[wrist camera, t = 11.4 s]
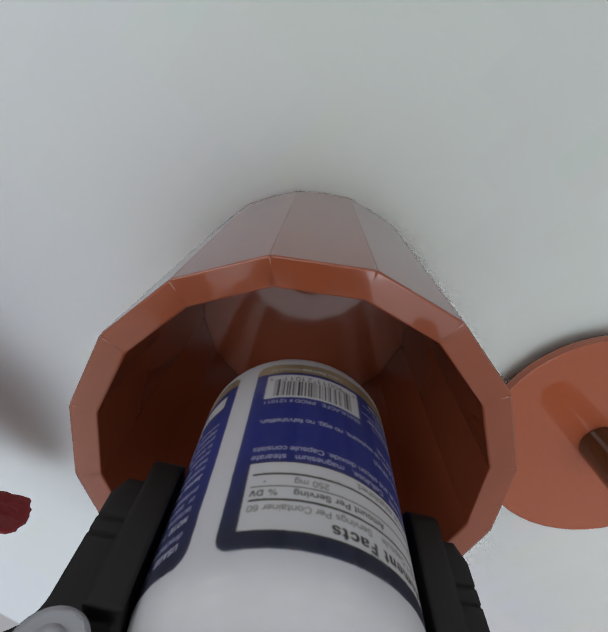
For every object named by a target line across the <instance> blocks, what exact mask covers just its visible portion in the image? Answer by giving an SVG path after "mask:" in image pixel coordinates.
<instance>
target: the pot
mask: <svg viewBox="0 0 608 632" xmlns="http://www.w3.org/2000/svg"><path fill="white" fill-rule="evenodd" d="M286 359H299V360H309V361H315V362H319V363H323V364H326V365H329V366H331V367H333V368H336V369H337V370H339V371H341V372H343V373H345V374H346V375H348V376H349V377H351V378H352V379H353V380H355V381H356V382H357V383H358V384H359V385H360V386H361V387H362V388H363V389H364V390H365V391H366V392H367V393H368V395H369V396H370V397H371V399H372V400H373V402H374V404H375V405H376V408H377V410H378V412H379V415H380V418H381V421H382V425H383V429H384V433H385V438H386V443H387V448H388V452H389V457H390V462H391V467H392V472H393V477H394V481H395V486H396V491H397V496H398V501H399V506H400V510H401V515H403V513H404V512H406V511H407V512H411V513H416V514H421V515H426V516H431V517H434V518H435V519H436V520H437V522H438V525H439V529H440V532H441V535H442V539H443V541H444V542H450V543H454V545H455V546H456V548H457V549H458V551H459V552H460V554H461V555H462V556H463V555H464V554H465V553H466V552H467V551H469V550H470V549H471V548H472V547H473V546H474V545H475V544H476V543H477V542H478V541H480V540H481V539H482V538H483V537H484V536H485V535H486V534H487V533H488V532H489V531H490V530H491V529H492V526H493V524H494V522H495V519H496V517H497V515H498V513H499V510H500V508H501V506H502V503H503V501H504V499H505V497H506V494H507V492H508V490H509V488H510V485H511V483H512V481H513V478H514V476H515V474H516V472H517V452H516V441H515V429H514V417H513V405H512V395H511V391H510V390H509V388H508V387H507V385H506V384H505V382H504V381H503V379H502V378H501V376H500V375H499V373H498V372H497V370H496V369H495V367H494V366H493V364H492V363H491V361H490V360H489V358H488V357H487V355H486V354H485V352H484V351H483V349H482V348H481V346H480V345H479V343H478V342H477V340H476V339H475V337H474V336H473V334H472V333H471V331H470V330H469V328H468V327H467V325H466V324H465V322H464V321H463V320H462V318H461V317H460V316H459V314H458V313H457V312H456V310H455V309H454V307H453V306H452V305H451V303H450V302H449V301H448V299H447V298H446V297H445V295H444V294H443V293H442V291H441V290H440V289H439V287H438V286H437V284H436V283H435V282H434V280H433V279H432V278H431V276H430V275H429V274H428V272H427V271H426V270H425V268H424V267H423V266H422V264H421V263H420V261H419V260H418V259H417V257H416V256H415V255H414V253H413V252H412V251H411V249H410V248H409V247H408V245H407V244H406V243H405V241H404V240H403V238H402V237H401V236H400V234H399V233H398V232H397V230H396V229H395V228H394V226H393V225H392V224H390V223H389V222H387V221H385V220H384V219H382V218H381V217H379V216H378V215H376V214H375V213H374V212H372V211H371V210H369V209H367V208H365V207H364V206H362V205H360V204H358V203H356V202H355V201H353V200H352V199H349V198H345V197H339V196H335V195H330V194H326V193H317V192H305V191H295V192H291V193H286V194H281V195H276V196H272V197H269V198H266V199H263V200H261V201H257V202H253V203H250V204H248V205H247V206H245V207H244V208H243V209H242V210H240V211H239V212H238V213H237V214H235V215H234V216H233V217H231V218H230V219H229V220H228V221H227V222H225V223H224V224H223V225H222V226H220V227H219V228H218V229H217V230H215V231H214V232H213V233H212V234H211V235H209V236H208V237H207V238H206V239H205V240H204V241H203V242H202V243H201V244H199V245H198V246H197V247H196V248H195V249H194V250H193V251H192V252H191V253H189V254H188V255H187V256H186V257H185V258H184V259H183V260H182V261H181V262H180V263H178V264H177V265H176V266H175V267H174V268H173V269H172V270H171V271H170V272H168V273H167V274H166V275H165V276H164V277H163V278H162V279H161V280H160V281H158V282H157V283H156V284H155V285H154V286H153V287H152V288H151V289H150V290H148V291H147V292H146V293H145V294H144V295H143V296H142V297H141V298H140V299H138V300H137V301H136V302H135V303H134V304H133V305H132V306H131V307H130V308H128V309H127V310H126V311H125V312H124V313H123V314H122V315H121V316H120V317H118V318H117V319H116V320H115V321H114V322H113V323H112V324H111V325H110V326H108V327H107V328H106V329H105V330H104V331H103V332H102V334H101V335H100V336H99V337H98V340H97V342H96V344H95V347H94V349H93V351H92V354H91V356H90V358H89V360H88V363H87V365H86V367H85V370H84V372H83V374H82V377H81V379H80V381H79V383H78V386H77V388H76V390H75V393H74V395H73V397H72V400H71V402H70V405H69V410H70V420H71V430H72V441H73V451H74V461H75V471H76V474H77V477H78V479H79V480H80V482H81V484H82V485H83V487H84V489H85V490H86V492H87V494H88V495H89V497H90V499H91V500H92V502H93V504H94V505H95V507H96V509H97V510H98V512H100V510H101V508H102V507H103V505H104V503H105V501H106V500H107V498H108V496H109V495H110V493H111V492H112V491H113V490H115V489H116V488H117V487H118V486H120V485H121V484H122V483H123V482H125V481H126V480H127V479H128V478H131V479H136V480H141V481H145V480H146V478H147V476H148V474H149V472H150V470H151V468H152V466H153V465H154V463H155V462H156V461H161V462H166V463H171V464H176V465H181V466H185V476H186V473H187V471H188V468H189V465H190V463H191V460H192V457H193V454H194V452H195V449H196V447H197V444H198V442H199V439H200V436H201V434H202V431H203V429H204V426H205V424H206V421H207V419H208V416H209V414H210V411H211V409H212V407H213V405H214V403H215V401H216V400H217V398H218V397H219V395H220V394H221V392H222V391H223V390H224V389H225V387H226V386H227V385H228V384H229V383H230V382H232V381H233V380H234V379H235V378H236V377H238V376H239V375H241V374H242V373H244V372H246V371H247V370H249V369H251V368H254V367H256V366H259V365H261V364H264V363H268V362H272V361H278V360H286ZM185 476H184V478H185Z"/></svg>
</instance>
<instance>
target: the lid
mask: <svg viewBox="0 0 608 632" xmlns="http://www.w3.org/2000/svg"><path fill="white" fill-rule="evenodd" d="M506 385H507V387H508V388H509V390H510V391H511V395H512V405H513V417H514V429H515V441H516V452H517V472H516V474H515V476H514V478H513V481H512V483H511V485H510V488H509V490H508V492H507V494H506V497H505V499H504V501H503V503H502V505H503V506H505V507H506V508H507V509H508V510H509V511H511V512H513V513H514V514H516V515H518V516H519V517H521V518H524V519H526V520H528V521H531V522H534V523H537V524H540V525H543V526H548V527H554V528H561V529H594V528H602V527H608V335H605V336H598V337H593V338H589V339H585V340H581V341H577V342H575V343H572V344H569V345H566V346H564V347H561V348H559V349H557V350H555V351H552V352H550V353H548V354H546V355H544V356H543V357H541V358H539V359H538V360H536V361H534V362H533V363H531V364H530V365H528V366H527V367H526V368H524V369H523V370H522V371H520V372H519V373H518V374H516V375H515V376H514V377H513V378H512V379H511V380H510V381H509V382H508V383H507V384H506Z"/></svg>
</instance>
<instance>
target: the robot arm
mask: <svg viewBox="0 0 608 632" xmlns="http://www.w3.org/2000/svg"><path fill="white" fill-rule="evenodd" d="M184 476H185V466H181V465H176V464H171V463H166V462H161V461H156V462H155V463H154V465H153V466H152V468H151V470H150V472H149V474H148V476H147V478H146V480H145V481H141V480H136V479H131V478H128V479H127V480H126V481H125V482H123V483H122V484H121V485H120V486H118V487H117V488H116V489H115V490H113V491H112V492H111V493H110V495H109V496H108V498H107V500H106V501H105V503H104V505H103V507H102V508H101V510H100V512H99V515H98V516H97V517H96V518H95V520H94V522H93V523H92V525H91V527H90V530H89V532H87V534H86V535H85V537H84V539H83V540H82V542H81V544H80V545H79V547H78V549H77V551H76V552H75V554H74V556H73V557H72V559H71V561H70V562H69V564H68V566H67V567H66V569H65V571H64V573H63V574H62V576H61V578H60V579H59V581H58V583H57V584H56V586H55V588H54V589H53V591H52V593H51V594H50V596H49V597H48V599H47V600H46V602H45V603H44V604H43V605H42V606H41V608H40V609H39V610H38V611H36V612H35V613H34V614H32V615H31V616H29V617H28V618H26V619H25V620H24V621H22V622H21V623H20V624H19V625H17V626H15V627H13V628H11V629H9V630H6V631H4V632H127V629H128V626H129V622H130V618H131V614H132V611H133V609H134V606H135V604H136V601H137V599H138V596H139V593H140V591H141V588H142V585H143V583H144V580H145V578H146V575H147V572H148V570H149V567H150V565H151V562H152V560H153V557H154V555H155V552H156V550H157V547H158V545H159V542H160V539H161V536H162V533H163V531H164V529H165V526H166V524H167V521H168V519H169V516H170V514H171V511H172V509H173V506H174V503H175V501H176V498H177V496H178V493H179V491H180V488H181V486H182V483H183V481H184ZM402 520H403V525H404V529H405V534H406V539H407V544H408V548H409V553H410V557H411V563H412V567H413V572H414V577H415V582H416V586H417V590H418V595H419V600H420V604H421V609H422V614H423V618H424V623H425V629H426V632H490V631H489V627H488V624H487V621H486V618H485V615H484V612H483V609H481V607H480V605H481V603H480V600H479V597H478V594H477V591H476V590H475V589H474V586H475V585H474V582H473V579H472V576H471V573H470V570H469V567H468V564H467V562H466V561H465V559H464V558H463V557H462V555H461V554H460V552H459V551H458V549H457V548H456V546H455V545H454V543H450V542H444V541H443V539H442V535H441V532H440V529H439V525H438V522H437V520H436V519H435V518H434V517H431V516H426V515H421V514H416V513H411V512H407V511H406V512H404V513H403V515H402Z"/></svg>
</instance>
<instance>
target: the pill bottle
mask: <svg viewBox="0 0 608 632" xmlns="http://www.w3.org/2000/svg"><path fill="white" fill-rule="evenodd" d="M127 632H426V629H425V623H424V618H423V614H422V609H421V604H420V600H419V595H418V590H417V586H416V582H415V577H414V572H413V567H412V563H411V557H410V553H409V548H408V544H407V539H406V534H405V529H404V525H403V520H402V515H401V510H400V506H399V501H398V496H397V491H396V486H395V481H394V477H393V472H392V467H391V462H390V457H389V452H388V448H387V443H386V438H385V433H384V429H383V425H382V421H381V418H380V415H379V412H378V410H377V408H376V405H375V404H374V402H373V400H372V399H371V397H370V396H369V395H368V393H367V392H366V391H365V390H364V389H363V388H362V387H361V386H360V385H359V384H358V383H357V382H356V381H355V380H353V379H352V378H351V377H349V376H348V375H346V374H345V373H343V372H341V371H339V370H337V369H336V368H333V367H331V366H329V365H326V364H323V363H319V362H315V361H309V360H299V359H286V360H278V361H272V362H268V363H264V364H261V365H259V366H256V367H254V368H251V369H249V370H247V371H246V372H244V373H242V374H241V375H239V376H238V377H236V378H235V379H234V380H233V381H232V382H230V383H229V384H228V385H227V386H226V387H225V389H224V390H223V391H222V392H221V394H220V395H219V397H218V398H217V400H216V401H215V403H214V405H213V407H212V409H211V411H210V414H209V416H208V419H207V421H206V424H205V426H204V429H203V431H202V434H201V436H200V439H199V442H198V444H197V447H196V449H195V452H194V454H193V457H192V460H191V463H190V465H189V468H188V471H187V473H186V476H185V478H184V481H183V483H182V486H181V488H180V491H179V493H178V496H177V498H176V501H175V503H174V506H173V509H172V511H171V514H170V516H169V519H168V521H167V524H166V526H165V529H164V531H163V533H162V536H161V539H160V542H159V545H158V547H157V550H156V552H155V555H154V557H153V560H152V562H151V565H150V567H149V570H148V572H147V575H146V578H145V580H144V583H143V585H142V588H141V591H140V593H139V596H138V599H137V601H136V604H135V606H134V609H133V611H132V614H131V618H130V622H129V626H128V629H127Z"/></svg>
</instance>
